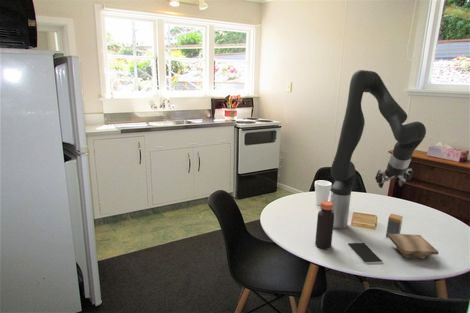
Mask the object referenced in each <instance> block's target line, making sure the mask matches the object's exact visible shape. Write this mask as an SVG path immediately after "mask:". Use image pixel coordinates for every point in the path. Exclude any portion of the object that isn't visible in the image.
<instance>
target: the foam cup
mask: <svg viewBox="0 0 470 313" xmlns="http://www.w3.org/2000/svg"><path fill="white" fill-rule="evenodd" d="M332 185H333V184H332V182H330V181H328V180H323V179H322V180H320V179H319V180H315V181H314V191H315V192H314V195H315V204H316V205H317V206H320V207H321V202H322V201H329V199H330V198H329V196H330V195H331V188H332Z"/></svg>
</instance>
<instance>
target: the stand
mask: <svg viewBox="0 0 470 313" xmlns="http://www.w3.org/2000/svg"><path fill="white" fill-rule="evenodd" d="M387 236H388V237H387V238H388V239H389V240H390V241H391V242H392V243H393V244H394V245H395V248H396V249H397V250H398V251H399V253H401V255H402V256H403V257H404V258H409V259H410V258H414V259H426V256H427V255H434V256H435V255H436V256H437V255H439V254H440V253H439V251H438V249H436V248H435V247H434V246H433V245H432V244H430V242H428V241H427V239H425V238H424V237H423V236H422V235H421V234H411V233H410V234H408V233H406V234H405V233H404V234H403V233H400V234H388V235H387Z"/></svg>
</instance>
